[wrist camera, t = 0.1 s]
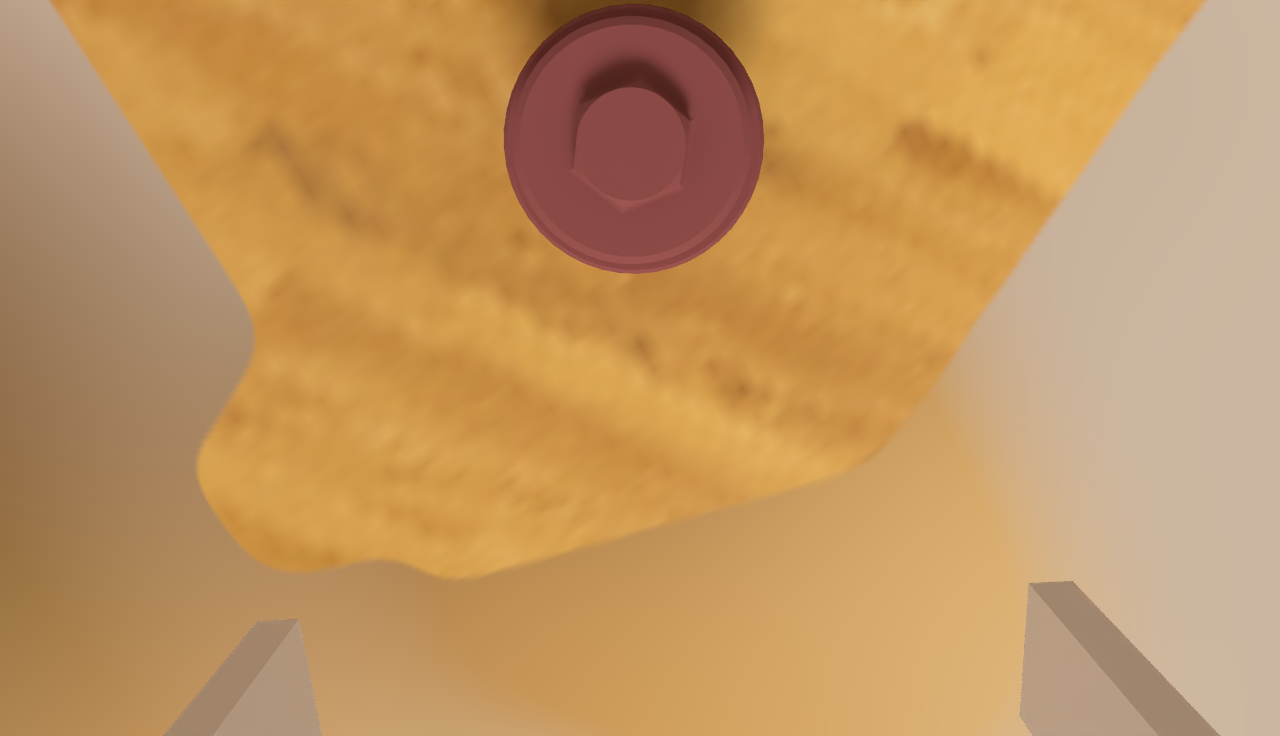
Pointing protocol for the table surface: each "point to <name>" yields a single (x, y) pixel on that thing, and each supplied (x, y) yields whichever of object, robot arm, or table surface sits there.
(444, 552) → the table surface
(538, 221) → the mechanical component
